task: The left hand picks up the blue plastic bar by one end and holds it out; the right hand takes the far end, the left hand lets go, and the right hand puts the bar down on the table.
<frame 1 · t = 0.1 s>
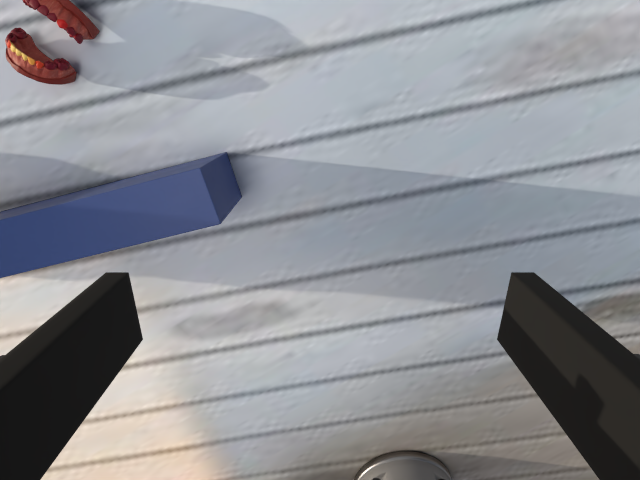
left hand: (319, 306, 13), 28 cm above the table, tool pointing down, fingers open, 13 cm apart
dental model: (61, 37, 34), on the table
bar: (115, 205, 40), on the table
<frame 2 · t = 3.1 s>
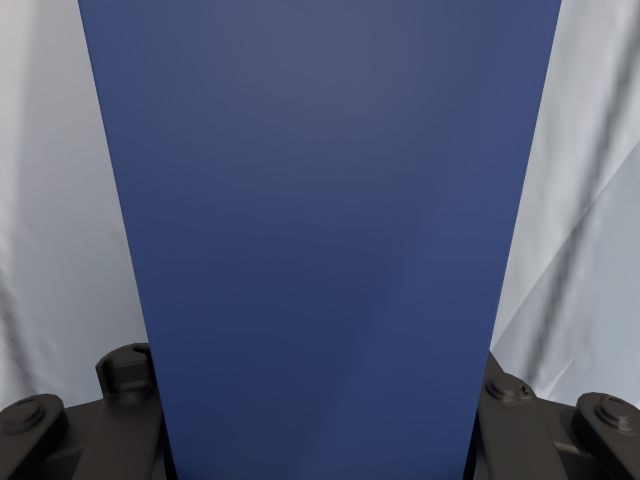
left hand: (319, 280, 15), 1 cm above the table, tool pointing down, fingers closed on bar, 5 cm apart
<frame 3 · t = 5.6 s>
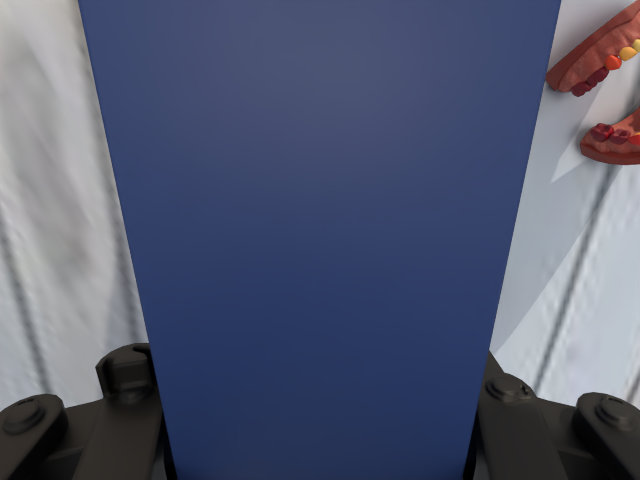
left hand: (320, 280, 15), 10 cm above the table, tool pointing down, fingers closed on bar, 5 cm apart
dental model: (605, 85, 21), on the table
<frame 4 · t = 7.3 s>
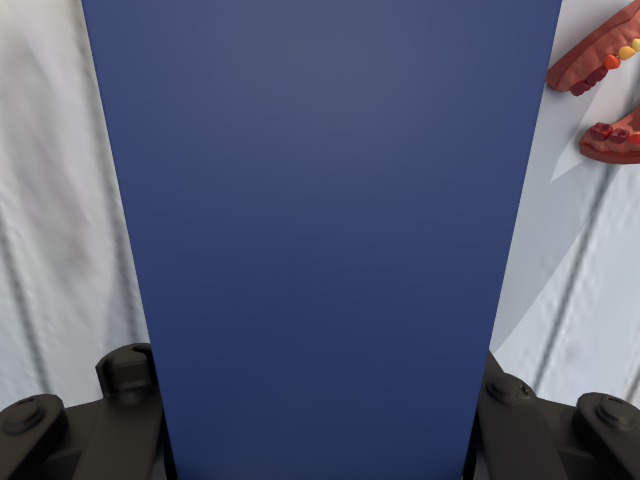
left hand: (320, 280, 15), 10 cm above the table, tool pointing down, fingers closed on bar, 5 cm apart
dental model: (604, 85, 21), on the table
when the left hand's fingers open (10 cm above the table, at t = 8.1 s): bar stays where it is, held by the right hand.
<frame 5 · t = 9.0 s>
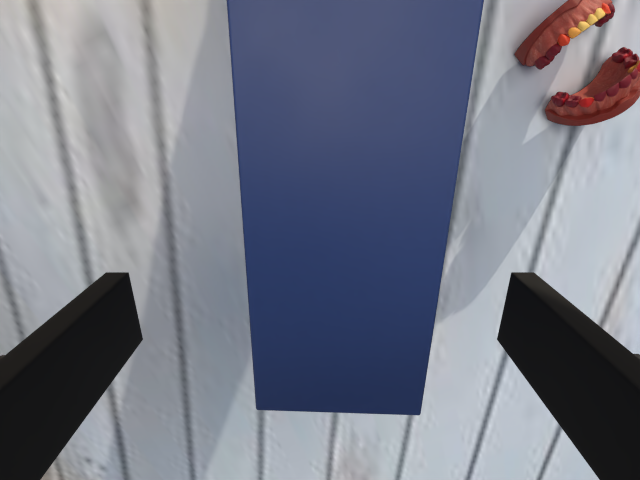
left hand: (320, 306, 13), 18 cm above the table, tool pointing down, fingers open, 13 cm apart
dental model: (565, 62, 26), on the table
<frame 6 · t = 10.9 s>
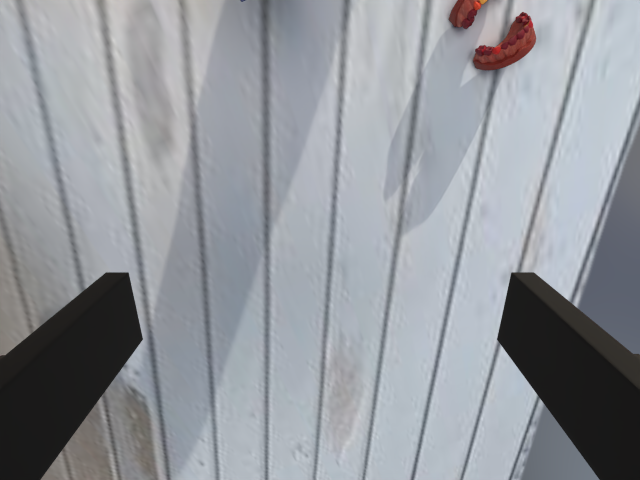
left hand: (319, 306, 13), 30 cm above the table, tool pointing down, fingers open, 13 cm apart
dental model: (486, 24, 36), on the table
when the right hand's fingers open (5 cm above the table, at t = 15.1 s): bar stays where it is, on the table.
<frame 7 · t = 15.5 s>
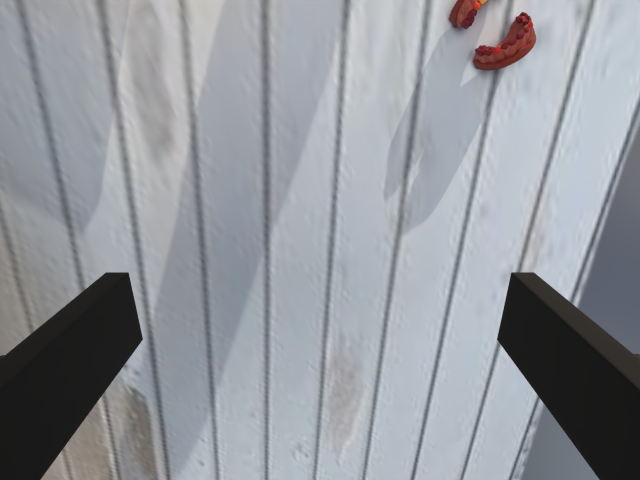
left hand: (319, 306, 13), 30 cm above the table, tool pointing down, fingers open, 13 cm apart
dental model: (486, 24, 36), on the table
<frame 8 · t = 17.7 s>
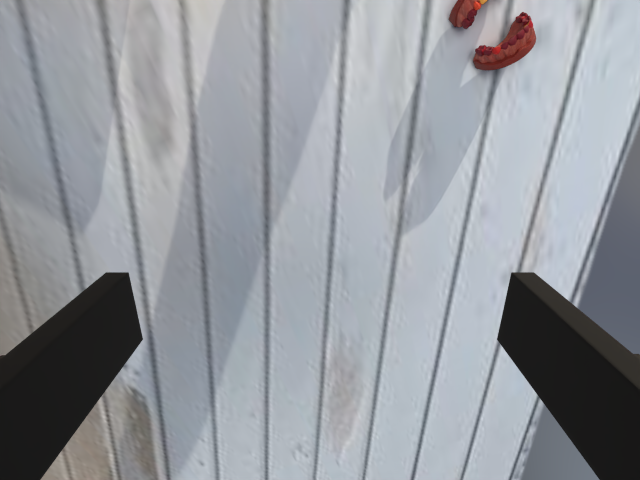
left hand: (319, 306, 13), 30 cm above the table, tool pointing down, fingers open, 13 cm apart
dental model: (486, 24, 36), on the table
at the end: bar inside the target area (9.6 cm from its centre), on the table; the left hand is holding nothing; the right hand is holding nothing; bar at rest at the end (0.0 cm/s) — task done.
